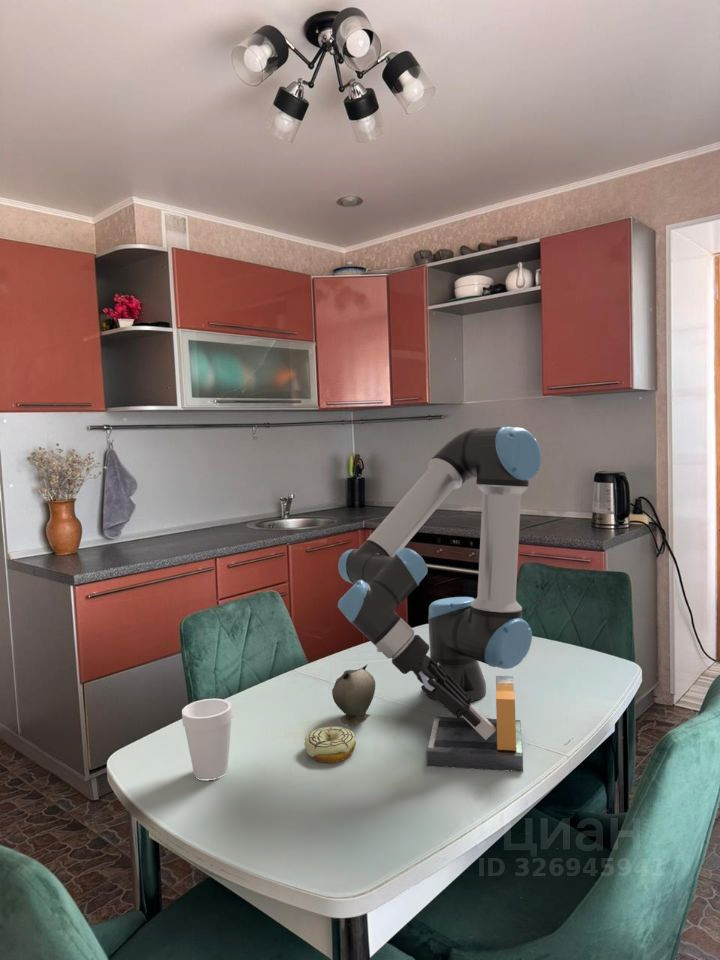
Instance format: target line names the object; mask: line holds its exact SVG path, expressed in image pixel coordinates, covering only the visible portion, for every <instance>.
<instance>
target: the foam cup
mask: <svg viewBox="0 0 720 960" xmlns="http://www.w3.org/2000/svg"><path fill="white" fill-rule="evenodd" d="M181 717H182V719H181V720H182V726H183V727H184V730H185V736H186V740H187V745H188V750H189V751H188V752H189V755H190V756H189V757H190V760H191V761H190V762H191V765H192V770H193V776H194V775H195V776H196V777H197V778H199V779H214V778H218V777H220V776H222V775H224V774H225V773H226V771H227V772H228V769H229V758H230V757H229V756H230V742H231V728H232V727H231V726H232V719H233V706H232V702H230V701H229V700H227V699H224V698H223V699H222V698H207V699H201V700H196V701H192V702H190V703H189V704H186V705H185V706H184V707H183V708H182V710H181ZM226 774H227V773H226ZM195 776H194V777H195Z"/></svg>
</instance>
